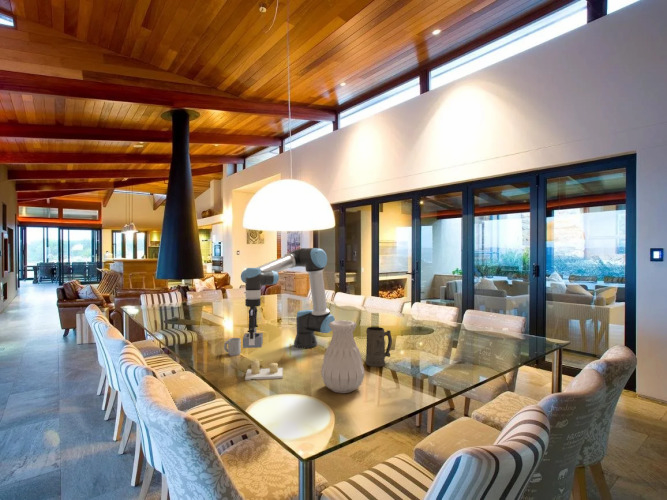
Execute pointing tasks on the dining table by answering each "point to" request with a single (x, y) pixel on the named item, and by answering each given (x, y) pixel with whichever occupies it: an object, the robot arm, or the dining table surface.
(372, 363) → the beer stein
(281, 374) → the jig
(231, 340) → the cup
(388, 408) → the dining table surface
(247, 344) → the collar
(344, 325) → the vase
